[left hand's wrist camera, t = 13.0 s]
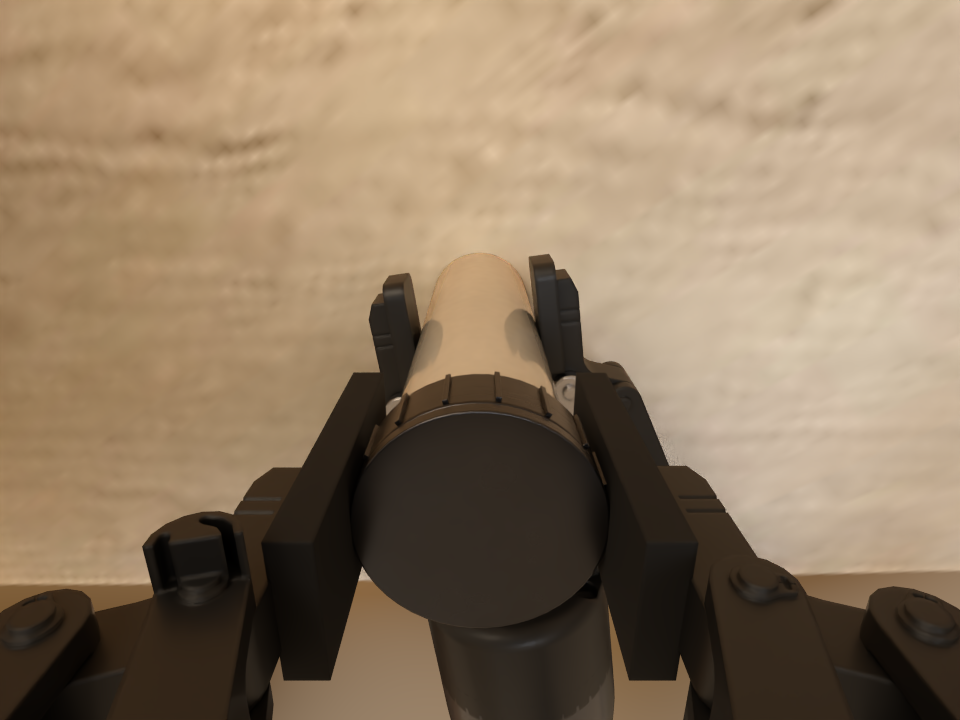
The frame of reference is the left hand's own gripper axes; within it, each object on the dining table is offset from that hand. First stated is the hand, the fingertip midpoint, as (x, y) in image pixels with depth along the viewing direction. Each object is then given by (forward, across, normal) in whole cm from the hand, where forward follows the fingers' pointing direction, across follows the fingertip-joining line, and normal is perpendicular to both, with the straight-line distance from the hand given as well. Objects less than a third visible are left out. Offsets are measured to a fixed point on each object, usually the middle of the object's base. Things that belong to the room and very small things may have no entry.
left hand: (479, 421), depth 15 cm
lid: (-4, 0, 0) cm, 4 cm away
